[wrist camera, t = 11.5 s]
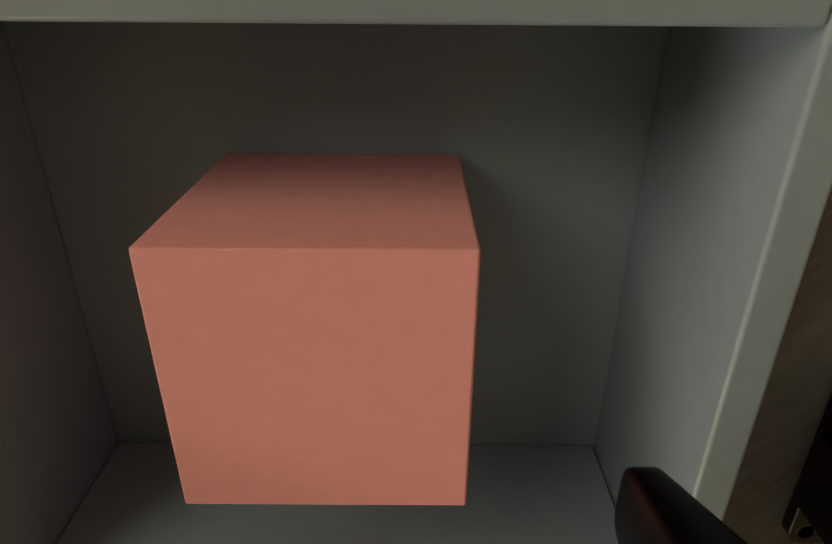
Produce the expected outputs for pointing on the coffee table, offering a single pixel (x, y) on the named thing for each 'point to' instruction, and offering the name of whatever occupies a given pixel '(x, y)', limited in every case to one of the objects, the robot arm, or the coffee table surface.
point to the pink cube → (316, 329)
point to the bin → (493, 217)
